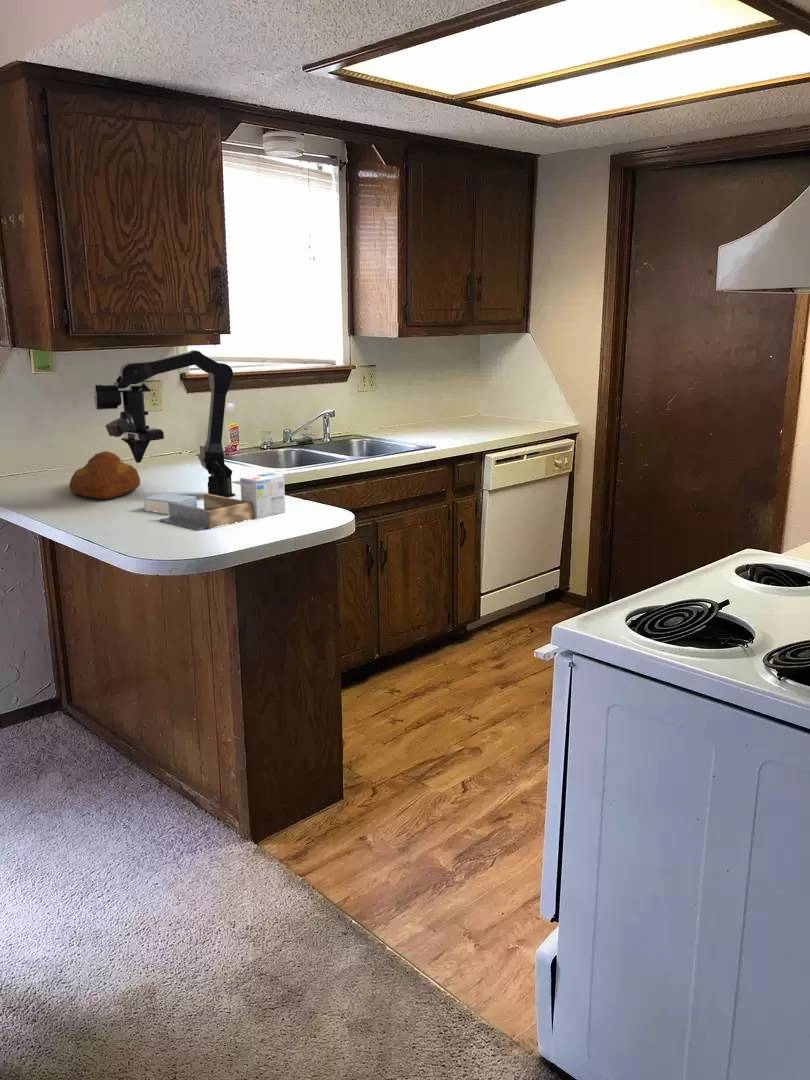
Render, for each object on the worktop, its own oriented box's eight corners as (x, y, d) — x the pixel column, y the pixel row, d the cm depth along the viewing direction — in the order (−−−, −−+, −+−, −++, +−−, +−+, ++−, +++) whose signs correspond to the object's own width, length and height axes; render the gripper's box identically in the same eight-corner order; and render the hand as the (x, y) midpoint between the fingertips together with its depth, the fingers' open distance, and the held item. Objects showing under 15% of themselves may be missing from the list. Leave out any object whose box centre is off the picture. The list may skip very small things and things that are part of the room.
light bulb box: (270, 509, 243) (268, 471, 240) (286, 512, 239) (285, 474, 236) (240, 515, 235) (238, 477, 232) (257, 519, 231) (255, 480, 228)
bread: (144, 480, 284) (141, 443, 281) (138, 501, 254) (134, 459, 250) (77, 483, 280) (73, 446, 277) (62, 504, 249) (58, 462, 246)
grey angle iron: (173, 518, 231) (172, 502, 230) (211, 527, 222) (210, 510, 221) (160, 521, 228) (158, 504, 227) (198, 530, 219) (197, 513, 217)
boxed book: (164, 506, 248) (163, 492, 247) (197, 510, 242) (196, 496, 241) (144, 512, 241) (143, 498, 240) (177, 516, 235) (176, 502, 234)
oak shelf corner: (207, 509, 243) (206, 493, 241) (253, 518, 231) (252, 502, 230) (165, 518, 232) (163, 501, 231) (210, 529, 220) (209, 511, 219)
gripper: (90, 408, 242) (95, 462, 246) (128, 412, 231) (133, 470, 235) (124, 405, 251) (128, 457, 255) (163, 409, 239) (167, 464, 243)
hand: (138, 462), depth 247 cm, fingers closed
